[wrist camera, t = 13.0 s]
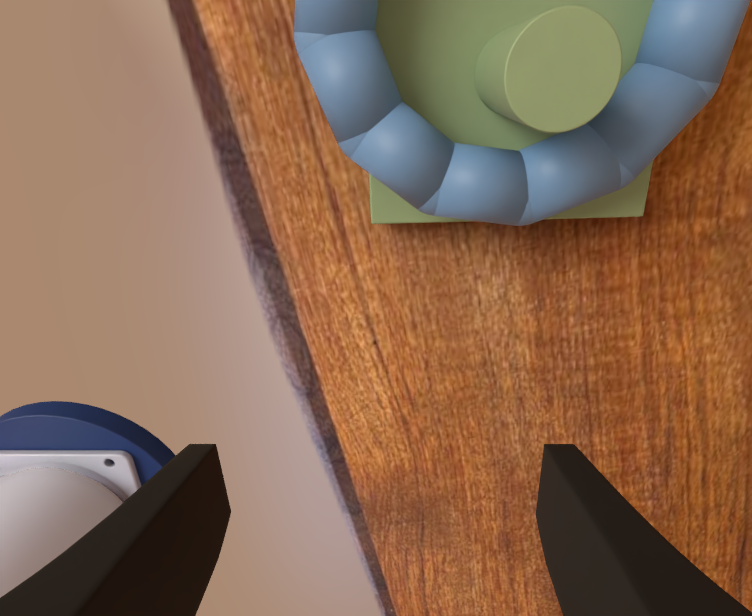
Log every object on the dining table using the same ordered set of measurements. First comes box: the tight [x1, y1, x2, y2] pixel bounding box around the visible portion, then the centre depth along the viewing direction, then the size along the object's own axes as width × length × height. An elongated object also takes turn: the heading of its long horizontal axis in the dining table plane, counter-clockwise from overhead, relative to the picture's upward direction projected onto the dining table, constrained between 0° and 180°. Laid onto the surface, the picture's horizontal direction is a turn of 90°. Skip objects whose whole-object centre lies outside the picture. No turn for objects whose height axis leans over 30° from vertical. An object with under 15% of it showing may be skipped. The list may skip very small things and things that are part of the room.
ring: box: [294, 0, 751, 226], centre depth 13 cm, size 12×12×2 cm
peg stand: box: [369, 0, 653, 224], centre depth 13 cm, size 9×9×6 cm
